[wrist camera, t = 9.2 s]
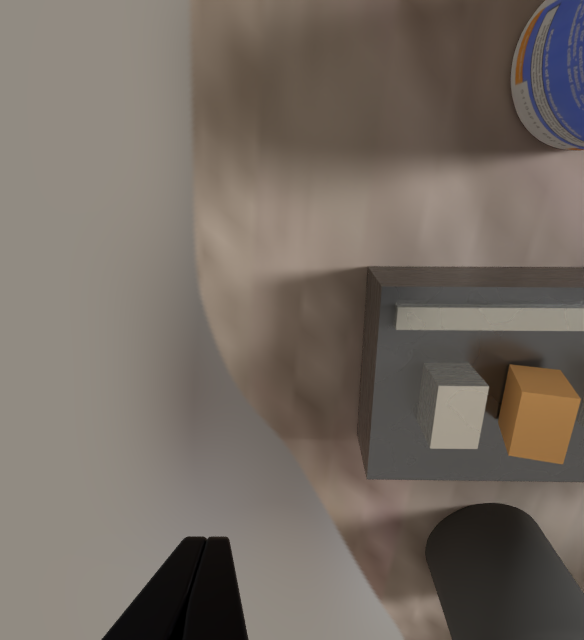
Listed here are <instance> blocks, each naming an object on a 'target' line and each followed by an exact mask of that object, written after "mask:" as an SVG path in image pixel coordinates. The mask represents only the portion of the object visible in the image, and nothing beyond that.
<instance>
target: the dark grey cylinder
mask: <svg viewBox="0 0 584 640" xmlns="http://www.w3.org/2000/svg"><path fill="white" fill-rule="evenodd" d="M425 553H426V560H427V563H428V566H429V569H430V572H431V575H432V578H433V582H434V585H435V588H436V591H437V594H438V597H439V600H440V603H441V606H442V609H443V612H444V615H445V618H446V621H447V625H448V628H449V631H450V634H451V637H452V640H584V593H583V592H582V590H581V589H580V587H579V586H578V584H577V583H576V581H575V580H574V578H573V577H572V575H571V574H570V572H569V571H568V569H567V568H566V566H565V565H564V563H563V562H562V560H561V559H560V557H559V556H558V554H557V553H556V551H555V550H554V548H553V547H552V545H551V544H550V542H549V541H548V539H547V538H546V537H545V535H544V534H543V532H542V531H541V529H540V528H539V526H538V525H537V523H536V522H535V521H534V519H533V518H532V517H531V516H529V515H528V514H527V513H525V512H524V511H522V510H520V509H518V508H516V507H512V506H509V505H504V504H495V503H489V504H479V505H474V506H470V507H466V508H464V509H461V510H459V511H457V512H454V513H453V514H451V515H449V516H448V517H446V518H445V519H444V520H442V521H441V522H440V523H439V524H438V525H437V526H436V527H435V529H434V530H433V531H432V533H431V534H430V536H429V538H428V541H427V544H426V552H425Z"/></svg>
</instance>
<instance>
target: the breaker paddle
mask: <svg viewBox="0 0 584 640" xmlns="http://www.w3.org/2000/svg"><path fill="white" fill-rule="evenodd" d="M580 401H581V398H580V397H579V395H578V394H577V393H576V391H575V390H574V388H573V387H572V386H571V384H570V383H569V381H568V380H567V378H566V377H565V376H564V374H563V373H562V371H561V370H556V369H547V368H538V367H529V366H521V365H512V364H509V369H508V374H507V379H506V384H505V389H504V394H503V399H502V404H501V409H500V414H499V419H498V424H499V427H500V430H501V434H502V437H503V440H504V443H505V446H506V450H507V453H508V456H514V457H520V458H526V459H532V460H538V461H545V462H551V463H557V464H563V463H564V459H565V456H566V452H567V449H568V445H569V441H570V438H571V434H572V430H573V427H574V423H575V420H576V416H577V412H578V409H579V405H580Z"/></svg>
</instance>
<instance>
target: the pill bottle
mask: <svg viewBox="0 0 584 640" xmlns="http://www.w3.org/2000/svg"><path fill="white" fill-rule="evenodd" d="M511 92H512V98H513V102H514V105H515V109H516V112H517V114H518V116H519V118H520V120H521V122H522V123H523V125H524V126H525V127H526V129H527V130H528V131H529V132H530V133H531V134H532V135H533V136H534V137H536V138H537V139H538V140H540V141H542V142H543V143H545V144H547V145H549V146H552V147H555V148H559V149H564V150H584V0H545V1H544V2H543V3H542V4H541V5H540V6H539V8H538V9H537V10H536V11H535V13H534V14H533V16H532V17H531V18H530V20H529V21H528V23H527V25H526V26H525V28H524V30H523V32H522V34H521V36H520V39H519V41H518V43H517V46H516V50H515V53H514V57H513V62H512V68H511Z"/></svg>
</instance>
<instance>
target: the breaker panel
mask: <svg viewBox="0 0 584 640" xmlns="http://www.w3.org/2000/svg"><path fill="white" fill-rule="evenodd" d="M509 364H512V365H521V366H529V367H538V368H547V369H556V370H561V371H562V373H563V374H564V376H565V377H566V378H567V380H568V381H569V383H570V384H571V386H572V387H573V388H574V390H575V391H576V393H577V394H578V395H579V397H580V398H581V401H580V405H579V409H578V412H577V416H576V420H575V423H574V427H573V430H572V434H571V438H570V441H569V445H568V449H567V452H566V456H565V459H564V463H563V464H557V463H551V462H545V461H538V460H532V459H526V458H520V457H514V456H508V453H507V450H506V446H505V443H504V440H503V437H502V434H501V430H500V427H499V424H498V419H499V414H500V409H501V404H502V399H503V394H504V389H505V384H506V379H507V374H508V369H509ZM357 436H358V441H359V445H360V450H361V455H362V459H363V464H364V469H365V473H366V478H367V479H390V480H468V481H547V482H584V268H572V267H368V274H367V289H366V304H365V320H364V335H363V351H362V366H361V381H360V397H359V412H358V427H357Z"/></svg>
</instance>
